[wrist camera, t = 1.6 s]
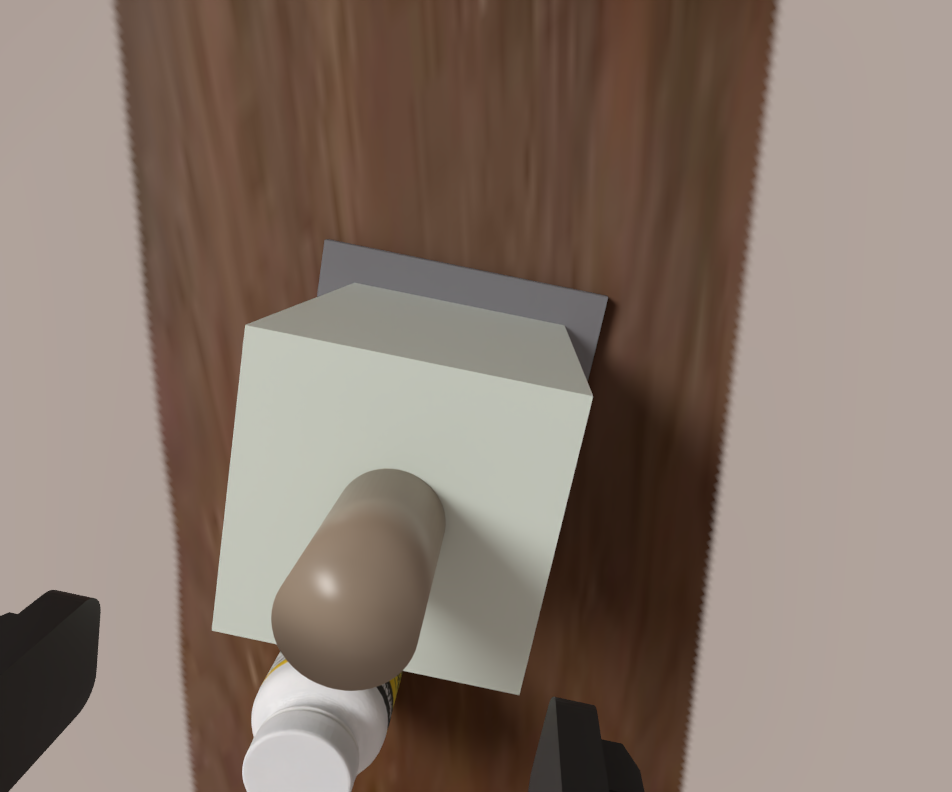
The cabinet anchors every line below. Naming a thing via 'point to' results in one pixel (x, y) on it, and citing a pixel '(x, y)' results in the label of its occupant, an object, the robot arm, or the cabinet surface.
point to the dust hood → (398, 487)
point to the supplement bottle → (314, 733)
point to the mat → (468, 290)
